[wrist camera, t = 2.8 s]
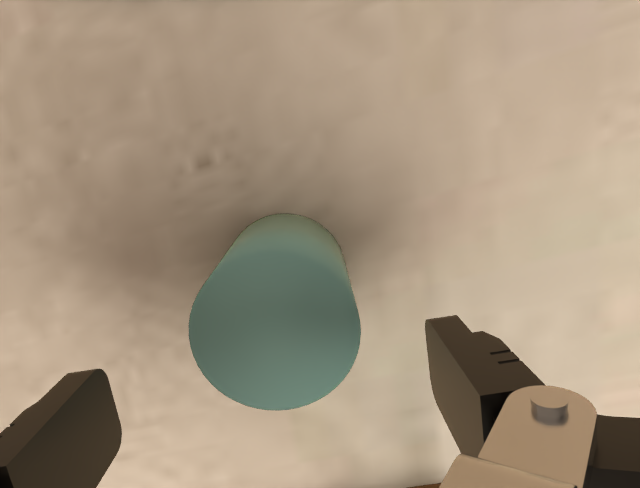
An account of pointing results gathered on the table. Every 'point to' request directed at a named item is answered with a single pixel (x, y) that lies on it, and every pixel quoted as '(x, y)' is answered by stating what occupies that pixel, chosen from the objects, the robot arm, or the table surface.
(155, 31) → the table surface
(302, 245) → the cylinder
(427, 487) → the base block
